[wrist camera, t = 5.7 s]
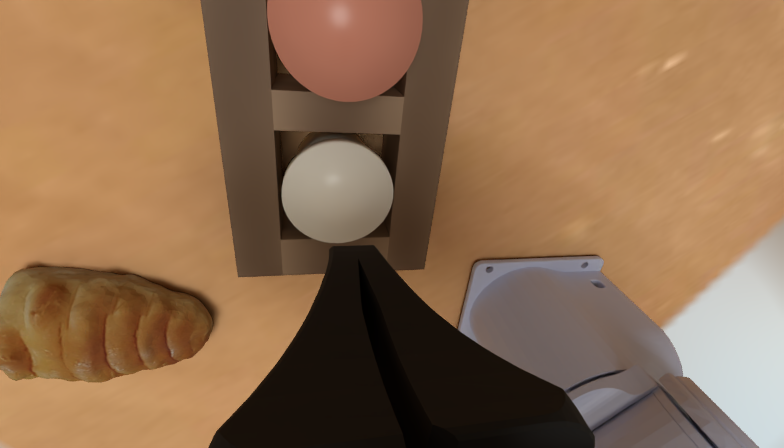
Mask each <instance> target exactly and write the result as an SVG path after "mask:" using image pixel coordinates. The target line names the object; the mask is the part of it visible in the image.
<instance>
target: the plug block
mask: <svg viewBox="0 0 784 448" xmlns="http://www.w3.org/2000/svg"><path fill="white" fill-rule="evenodd" d="M421 3H422V12H423V25H422V34H421V40H420V43H419V47H418V50H417V53H416V55H415V57H414V60H413V62H412V63H411V65H410V67H409V69H408V70H407V71H406V73H405V74H404V75H403V77H402V78H401V79H400V80H399V81H398V82H397V83H396V84H395V85H393V86H392V87H391V88H390V89H388V90H387V91H385V92H384V93H382V94H380V95H378V96H376V97H373V98H370V99H367V100H363V101H357V102H341V101H335V100H331V99H327V98H324V97H322V96H319V95H317V94H315V93H314V92H312V91H310V90H308V89H307V88H306V87H304V86H303V85H302V84H300V83H299V82H298V81H297V80H296V79H295V78H294V77H293V76H292V75H291V74H280V73H277V58H276V50H275V47H274V45H273V42H272V39H271V35H270V31H269V27H268V18H267V0H201V6H202V14H203V21H204V29H205V36H206V43H207V51H208V58H209V66H210V73H211V80H212V88H213V95H214V102H215V110H216V117H217V125H218V132H219V139H220V147H221V154H222V162H223V169H224V176H225V184H226V191H227V199H228V206H229V213H230V221H231V228H232V236H233V243H234V250H235V258H236V265H237V272H238V277H256V276H279V275H302V274H325V272H326V269H327V265H328V260H329V249H330V248H331V247H332V246H354V245H374V246H375V247H376V248H377V249H378V250H379V251H380V253H381V254H382V255H383V257H384V258H385V259H386V260H387V262H388V263H389V264H390V265H391V267H392V268H393V269H394V270H417V269H424V267H425V261H426V255H427V249H428V243H429V237H430V231H431V225H432V219H433V213H434V207H435V201H436V195H437V189H438V183H439V177H440V171H441V165H442V159H443V153H444V147H445V141H446V135H447V129H448V123H449V117H450V111H451V105H452V99H453V93H454V87H455V81H456V75H457V69H458V63H459V57H460V51H461V45H462V39H463V33H464V27H465V21H466V15H467V9H468V3H469V0H421ZM280 131H309V132H339V133H369V134H384V136H383V148H382V160H383V162H384V164H385V165H386V167H387V169H388V172H389V174H390V176H391V179H392V183H393V201H392V205H391V208H390V210H389V212H388V215H387V216H386V218H385V219H384V221H383V222H382V223H381V224H380V225H379V226H378V227H377V228H376V229H375V230H374V231H372V232H371V233H370V234H368V235H366V236H364V237H362V238H360V239H357V240H354V241H351V242H345V243H327V242H322V241H318V240H315V239H313V238H310V237H309V236H307V235H305V234H303V233H302V232H301V231H299V230H298V229H297V228H296V227H295V226H294V225H293V224H292V223H291V221H290V220H289V218H288V217H287V215H286V212H285V210H284V207H283V204H282V184H283V170H282V152H281V133H280Z"/></svg>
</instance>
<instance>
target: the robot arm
mask: <svg viewBox="0 0 784 448" xmlns="http://www.w3.org/2000/svg"><path fill="white" fill-rule="evenodd" d="M603 263H604V261H603V259H602V258H600V257H599V256H580V257H555V258H530V259H505V260H481V261H478V262H476V263H475V264H474V266H473V269H472V273H471V277H470V281H469V285H468V289H467V293H466V297H465V301H464V306H463V310H462V314H461V318H460V322H459V326H458V329H456V328H455V327H453V326H452V325H451V324H450V323H448V322H447V321H446V320H445V319H443V318H442V317H441V316H440V315H438V314H437V313H436V312H435V311H434V310H432V309H431V308H430V307H429V306H428V305H427V304H426V303H425V302H424V301H423V300H422V299H421V298H420V297H419V296H418V295H417V294H416V293H415V292H414V291H413V290H412V289H411V288H410V287H409V286H408V285H407V284H406V283H405V281H404V280H403V279H402V278H401V277H400V276H399V275H398V274H397V273H396V271H395V270H394V269H393V268H392V267H391V265H390V264H389V263H388V262H387V260H386V259H385V258H384V257H383V255H382V254H381V253H380V251H379V250H378V249H377V248H376V247H375V246H374V245H354V246H332V247H331V248H330V249H329V260H328V265H327V269H326V272H325V275H324V278H323V281H322V284H321V286H320V289H319V292H318V294H317V296H316V298H315V300H314V303H313V305H312V307H311V309H310V311H309V313H308V315H307V317H306V319H305V321H304V322H303V324H302V326H301V328H300V329H299V331H298V333H297V334H296V336H295V337H294V339H293V341H292V342H291V343H290V345H289V346H288V348H287V349H286V351H285V352H284V354H283V355H282V357H281V358H280V360H279V361H278V362H277V364H276V365H275V366H274V367H273V369H272V370H271V371H270V372H269V374H268V375H267V376H266V377H265V379H264V380H263V381H262V382H261V383H260V385H259V386H258V387H257V388H256V390H255V391H254V392H253V393H252V394H251V395H250V397H249V398H248V399H247V400H246V401H245V402H244V403H243V404H242V405H241V406H240V407H239V408H238V409H237V410H236V411H235V412H234V414H233V415H232V416H231V417H230V418H229V419H228V420H227V421H226V422H225V423H224V424H223V425H222V426H221V427H220V428H219V429H218V430H217V431H216V433H215V435H214V437H213V439H212V441H211V443H210V445H209V448H759V447H758V446H757V445H756V444H755V443H754V442H753V441H752V440H751V439H750V438H749V437H748V436H747V435H746V434H745V433H744V432H743V431H742V430H741V429H740V428H739V427H738V426H737V425H736V424H735V423H734V422H733V421H732V420H731V419H730V418H729V417H728V416H727V415H726V414H725V413H724V412H723V411H722V410H721V409H720V408H719V407H718V406H717V405H716V404H715V403H714V402H713V401H712V400H711V399H710V398H709V397H708V396H707V395H706V394H705V393H704V392H703V391H702V390H701V389H700V388H699V387H698V386H697V385H696V384H695V383H694V382H693V381H692V380H691V379H690V378H687V377H683V371H682V366H681V363H680V360H679V357H678V355H677V352H676V350H675V348H674V346H673V344H672V343H671V341H670V339H669V338H668V337H667V335H666V334H665V333H664V331H663V330H662V329H661V328H660V327H659V326H658V325H657V324H656V323H655V322H653V321H652V320H651V319H650V318H649V317H648V316H647V315H646V314H645V313H644V312H643V311H642V310H641V309H640V308H639V307H638V306H636V305H635V304H634V303H633V302H632V301H631V300H630V299H629V298H628V297H627V296H626V295H625V294H624V293H623V292H622V291H620V290H619V289H618V288H617V287H616V286H615V285H614V284H613V283H612V282H611V281H610V280H609V279H608V278H607V277H606V276H605V275H603V274H602V273H601V272H600V270H601V268H602V266H603ZM487 267H490V268H488V269H486V268H487Z"/></svg>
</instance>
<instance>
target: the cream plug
mask: <svg viewBox="0 0 784 448" xmlns="http://www.w3.org/2000/svg"><path fill="white" fill-rule="evenodd" d="M392 201H393V183H392V179H391V176H390V174H389V172H388V169H387V167H386V165H385V164H384V162H383V160H382V159H381V158H380V157H379V155H378V154H376V153H375V152H374V151H373V150H372V149H370V148H369V147H368V146H366V145H365V144H364V143H363V141H362V140H361V139H360V137H359V136H357V135H356V134H355V133H339V132H311V133H310V134H309V135H307V136H306V137H305V138H304V140H303V141H302V142H301V144H300V146H299V148H298V151H297V155H296V156H295V157H294V158H293V159H292V161H291V162H290V164H289V165H288V167H287V169H286V172H285V175H284V178H283V184H282V204H283V207H284V210H285V212H286V215H287V217H288V218H289V220H290V221H291V223H292V224H293V225H294V226H295V227H296V228H297V229H298V230H299V231H301V232H302V233H303V234H305V235H307V236H309V237H310V238H313V239H315V240H318V241H322V242H327V243H345V242H351V241H354V240H357V239H360V238H362V237H364V236H366V235H368V234H370V233H371V232H372V231H374V230H375V229H376V228H377V227H378V226H379V225H380V224H381V223H382V222H383V221H384V219H385V218H386V216H387V215H388V212H389V210H390V208H391V205H392Z"/></svg>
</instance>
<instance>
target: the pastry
mask: <svg viewBox="0 0 784 448" xmlns="http://www.w3.org/2000/svg"><path fill="white" fill-rule="evenodd" d="M212 327H213V321H212V318H211V316H210V314H209V312H208V311H207V309H206V308H205V307H204V305H203V304H202V303H201V302H200V301H199V300H198V299H197V298H195V297H193V296H191V295H189V294H186V293H181V292H175V291H171V290H169V289H166V288H165V287H163V286H160V285H157V284H154V283H152V282H150V281H148V280H146V279H144V278H142V277H140V276H137V275H134V274H127V275H118V274H115V273H109V272H99V271H92V270H87V269H81V268H65V267H35V268H27V269H21V270H19V271H17V272H15V273H14V274H13V275H12V276H11V277H10V278H9V279H8V280H7V282H6V284H5V286H4V288H3V291H2V294H1V296H0V370H3V371H4V373H5V374H6V375H7V376H8V377H9V378H11V379H12V380H15V381H17V380H21V379H33V378H36V377H41V378H46V379H50V378H55V379H63V380H67V381H79V380H81V381H86V382H105V381H108V380H110V379H112V378H115V377H119V376H123V375H129V374H134V373H136V372H138V371H140V370H148V369H149V370H152V369H157V368H160V367H163V366H166V365H171V364H175V363H177V362H179V361H181V360H183V359H188V358H191V357H193V356H194V355H195V354H196V353H197V352H198V351H199V350H200V349H201V348H202V347H203V346H204V344H205V343H206V342H207V341H208V339H209V336H210V334H211V332H212Z"/></svg>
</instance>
